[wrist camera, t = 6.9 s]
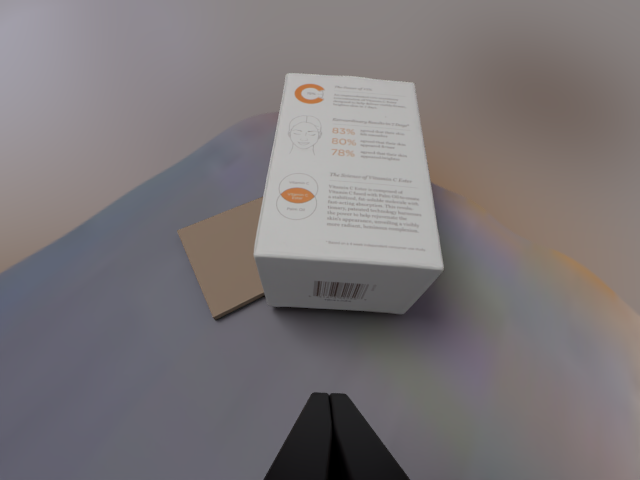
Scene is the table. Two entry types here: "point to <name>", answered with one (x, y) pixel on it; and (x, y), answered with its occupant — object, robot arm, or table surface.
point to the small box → (347, 198)
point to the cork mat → (226, 257)
